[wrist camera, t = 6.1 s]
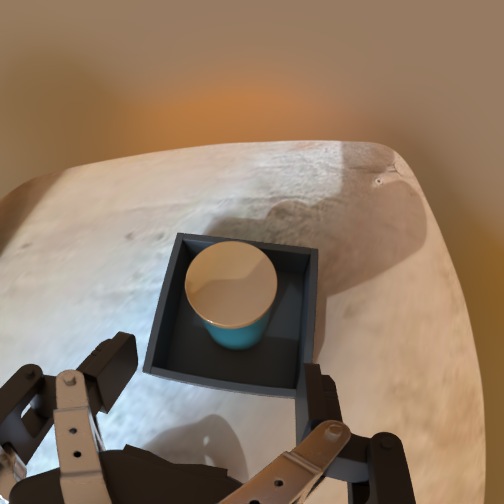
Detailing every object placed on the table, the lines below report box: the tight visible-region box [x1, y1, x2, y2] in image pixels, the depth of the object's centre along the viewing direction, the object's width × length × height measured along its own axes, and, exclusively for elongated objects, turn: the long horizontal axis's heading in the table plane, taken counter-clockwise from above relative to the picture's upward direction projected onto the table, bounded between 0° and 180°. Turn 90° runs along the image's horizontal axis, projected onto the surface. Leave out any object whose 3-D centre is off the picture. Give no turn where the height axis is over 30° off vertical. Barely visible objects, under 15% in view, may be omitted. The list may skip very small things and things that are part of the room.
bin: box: [142, 233, 318, 399], centre depth 22 cm, size 11×11×4 cm
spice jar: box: [185, 241, 278, 351], centre depth 19 cm, size 5×5×8 cm
